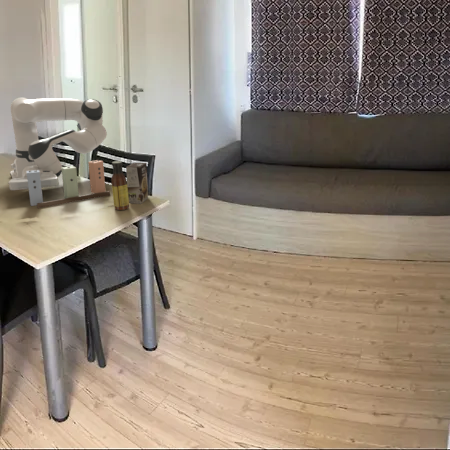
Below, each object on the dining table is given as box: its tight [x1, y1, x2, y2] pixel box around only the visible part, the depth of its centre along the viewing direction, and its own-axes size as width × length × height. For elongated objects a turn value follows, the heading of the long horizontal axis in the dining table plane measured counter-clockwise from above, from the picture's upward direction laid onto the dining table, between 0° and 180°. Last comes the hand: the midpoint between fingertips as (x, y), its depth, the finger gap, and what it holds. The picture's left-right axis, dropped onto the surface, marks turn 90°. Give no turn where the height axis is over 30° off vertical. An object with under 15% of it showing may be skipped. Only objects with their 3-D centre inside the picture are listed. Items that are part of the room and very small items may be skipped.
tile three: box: [87, 159, 106, 194], centre depth 247 cm, size 4×5×14 cm
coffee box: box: [125, 162, 149, 205], centre depth 238 cm, size 9×6×16 cm
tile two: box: [26, 170, 44, 207], centre depth 230 cm, size 4×5×14 cm
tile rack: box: [36, 190, 111, 209], centre depth 241 cm, size 14×35×3 cm, turn 126°
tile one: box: [61, 165, 80, 199], centre depth 237 cm, size 4×5×14 cm
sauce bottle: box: [110, 160, 130, 211], centre depth 227 cm, size 6×6×20 cm
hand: (35, 187), depth 232 cm, fingers closed, pressing on tile two
